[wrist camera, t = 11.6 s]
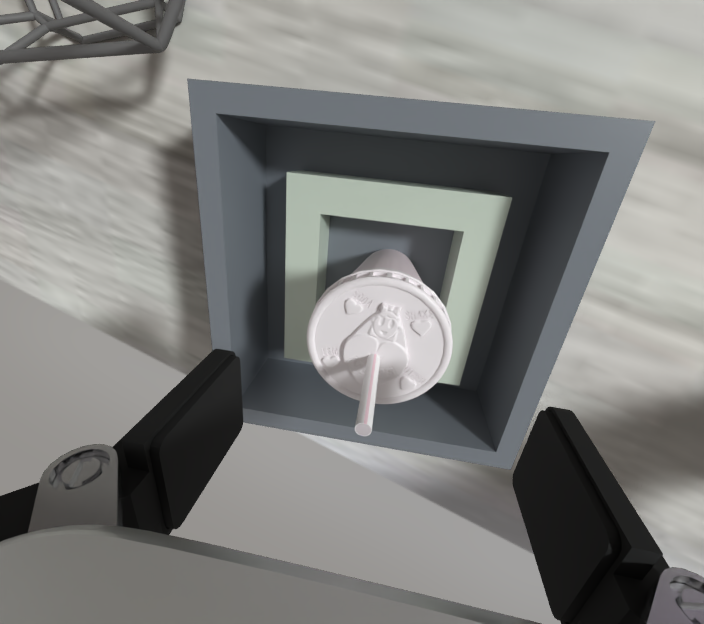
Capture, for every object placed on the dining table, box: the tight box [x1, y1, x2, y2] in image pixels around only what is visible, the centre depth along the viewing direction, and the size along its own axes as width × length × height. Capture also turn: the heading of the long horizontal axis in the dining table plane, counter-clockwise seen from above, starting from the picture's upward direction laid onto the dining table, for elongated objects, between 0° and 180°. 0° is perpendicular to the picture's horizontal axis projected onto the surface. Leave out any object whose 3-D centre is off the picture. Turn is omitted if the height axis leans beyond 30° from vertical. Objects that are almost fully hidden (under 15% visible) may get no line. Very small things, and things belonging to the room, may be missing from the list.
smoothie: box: [307, 249, 453, 436], centre depth 17 cm, size 6×6×14 cm
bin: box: [187, 79, 655, 470], centre depth 21 cm, size 19×19×7 cm
